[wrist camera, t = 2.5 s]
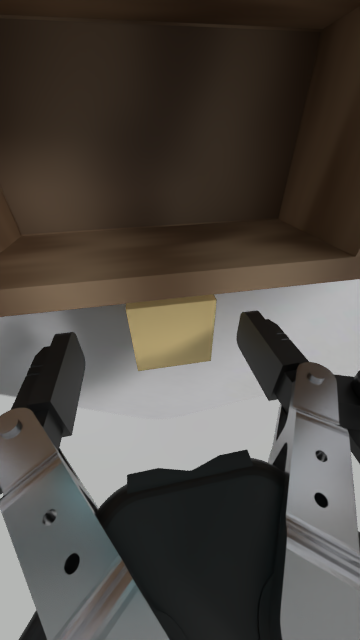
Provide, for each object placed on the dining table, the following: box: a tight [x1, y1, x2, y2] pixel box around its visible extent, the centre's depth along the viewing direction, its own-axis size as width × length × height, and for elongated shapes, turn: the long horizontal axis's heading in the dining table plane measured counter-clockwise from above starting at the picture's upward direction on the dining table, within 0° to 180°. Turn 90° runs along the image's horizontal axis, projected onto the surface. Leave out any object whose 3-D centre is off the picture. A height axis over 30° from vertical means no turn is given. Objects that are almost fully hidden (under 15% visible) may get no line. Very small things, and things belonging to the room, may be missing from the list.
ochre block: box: [126, 294, 217, 371], centre depth 13 cm, size 4×4×5 cm
